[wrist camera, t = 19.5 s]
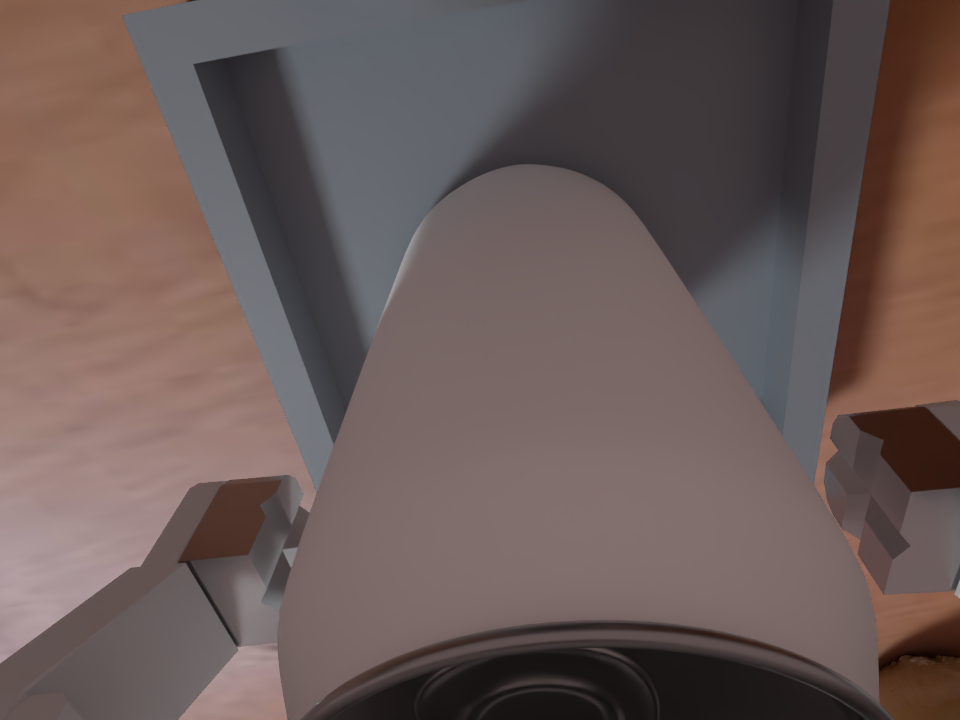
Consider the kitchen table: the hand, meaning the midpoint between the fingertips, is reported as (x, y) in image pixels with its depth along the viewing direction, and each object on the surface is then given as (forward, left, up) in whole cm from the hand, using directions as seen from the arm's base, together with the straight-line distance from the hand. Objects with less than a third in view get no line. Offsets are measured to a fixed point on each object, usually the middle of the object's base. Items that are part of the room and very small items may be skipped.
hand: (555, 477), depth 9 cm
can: (0, 0, -8) cm, 8 cm away
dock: (0, 0, -9) cm, 9 cm away
